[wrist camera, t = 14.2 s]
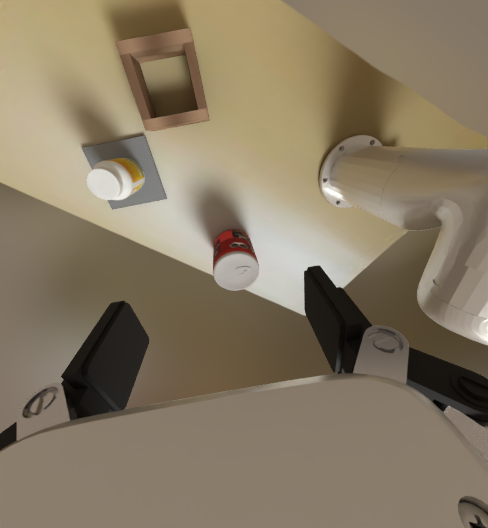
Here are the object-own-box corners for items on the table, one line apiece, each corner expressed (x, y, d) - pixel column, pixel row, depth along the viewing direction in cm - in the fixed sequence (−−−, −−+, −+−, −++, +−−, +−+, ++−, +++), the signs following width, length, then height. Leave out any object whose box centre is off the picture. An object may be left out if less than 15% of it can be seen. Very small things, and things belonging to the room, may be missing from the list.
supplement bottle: (144, 194, 38) (124, 210, 30) (111, 186, 37) (81, 199, 28) (146, 162, 36) (126, 170, 27) (111, 152, 34) (78, 156, 26)
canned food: (256, 249, 47) (267, 277, 37) (226, 266, 48) (228, 297, 39) (239, 221, 43) (245, 244, 34) (206, 240, 44) (203, 268, 35)
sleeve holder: (193, 40, 29) (190, 27, 26) (209, 120, 34) (208, 118, 31) (127, 53, 29) (115, 41, 26) (152, 131, 34) (145, 130, 30)
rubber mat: (145, 135, 34) (144, 135, 34) (166, 198, 39) (166, 198, 39) (83, 147, 34) (81, 147, 33) (113, 208, 39) (112, 209, 39)
